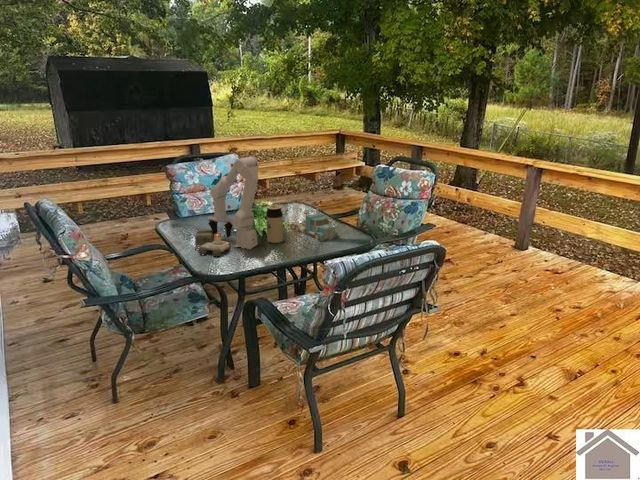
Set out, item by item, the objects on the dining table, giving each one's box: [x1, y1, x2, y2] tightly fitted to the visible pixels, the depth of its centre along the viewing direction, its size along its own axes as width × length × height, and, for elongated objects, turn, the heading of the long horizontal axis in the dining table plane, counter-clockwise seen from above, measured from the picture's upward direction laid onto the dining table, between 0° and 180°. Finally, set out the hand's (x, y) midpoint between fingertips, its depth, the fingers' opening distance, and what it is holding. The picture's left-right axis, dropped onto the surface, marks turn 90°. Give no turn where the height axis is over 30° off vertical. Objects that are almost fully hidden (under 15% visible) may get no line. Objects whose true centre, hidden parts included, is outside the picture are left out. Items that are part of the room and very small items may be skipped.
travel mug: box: [265, 204, 284, 244], centre depth 236 cm, size 8×8×18 cm
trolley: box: [194, 240, 232, 257], centre depth 223 cm, size 17×10×5 cm, turn 68°
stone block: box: [194, 229, 215, 246], centre depth 237 cm, size 9×14×5 cm, turn 8°
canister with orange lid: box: [214, 232, 223, 246], centre depth 220 cm, size 3×3×6 cm
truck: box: [290, 206, 341, 243], centre depth 249 cm, size 12×29×15 cm, turn 35°
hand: (222, 235), depth 240 cm, fingers open, 7 cm apart
